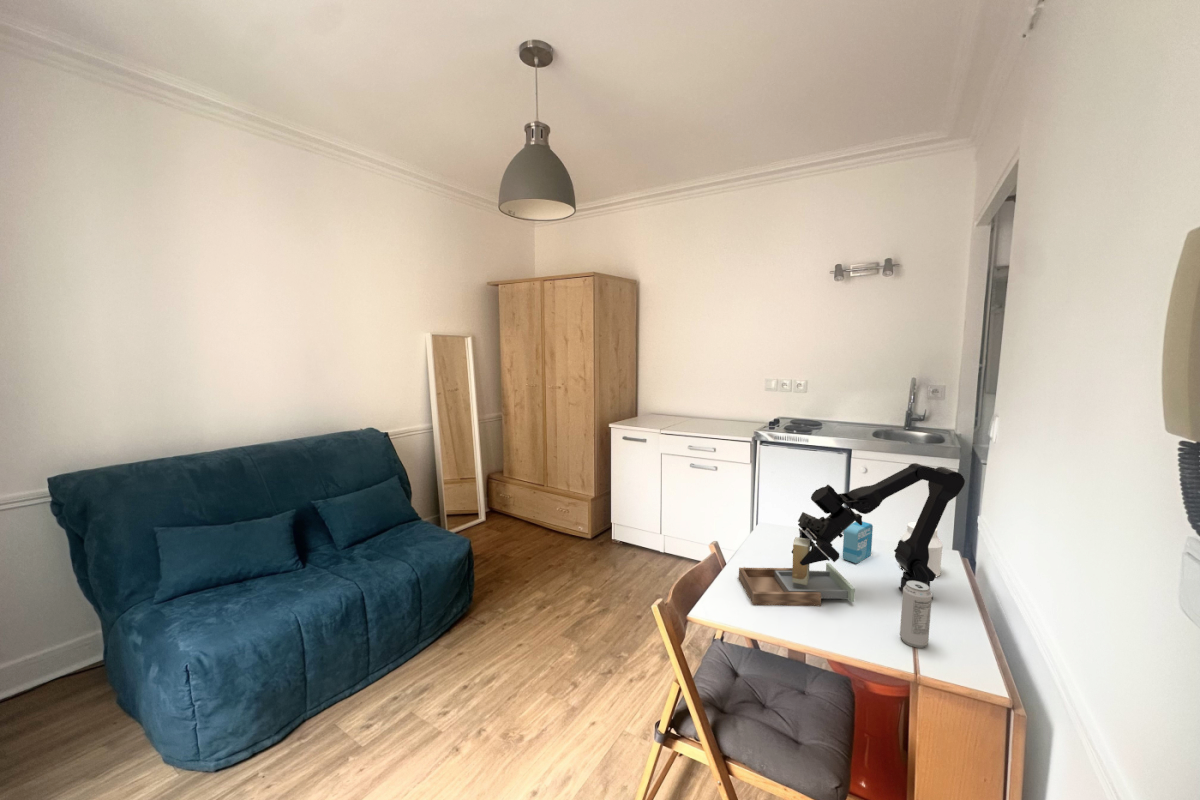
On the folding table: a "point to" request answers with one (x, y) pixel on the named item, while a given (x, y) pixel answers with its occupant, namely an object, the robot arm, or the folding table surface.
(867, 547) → the blue printed box
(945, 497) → the robot arm
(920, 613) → the energy drink can
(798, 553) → the skincare box
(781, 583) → the tray
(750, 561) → the folding table surface
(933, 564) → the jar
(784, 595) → the caddy
